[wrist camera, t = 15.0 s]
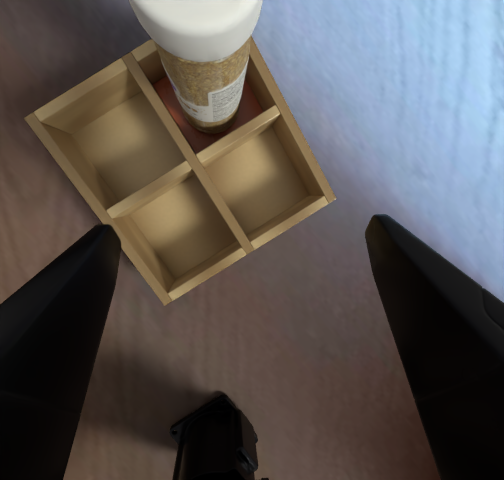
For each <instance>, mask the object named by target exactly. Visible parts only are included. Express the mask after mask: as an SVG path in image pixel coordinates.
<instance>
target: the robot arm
mask: <svg viewBox="0 0 504 480" xmlns="http://www.w3.org/2000/svg"><path fill="white" fill-rule="evenodd" d="M365 238H366V243H367V248H368V253H369V258H370V263H371V268H372V272H373V276H374V279H375V282H376V285H377V288H378V292H379V295H380V298H381V301H382V304H383V307H384V310H385V313H386V316H387V319H388V322H389V325H390V328H391V331H392V334H393V337H394V340H395V343H396V346H397V349H398V352H399V355H400V358H401V361H402V364H403V367H404V370H405V373H406V376H407V379H408V382H409V385H410V388H411V391H412V394H413V397H414V399H415V403H416V406H417V409H418V412H419V415H420V418H421V421H422V424H423V427H424V430H425V433H426V436H427V439H428V442H429V445H430V448H431V451H432V454H433V457H434V460H435V463H436V467H437V470H438V473H439V476H440V478H441V480H504V303H503V302H502V301H501V300H499V299H498V298H496V297H495V296H494V295H492V294H491V293H490V292H489V291H487V290H486V289H484V288H482V286H481V285H479V284H478V283H477V282H475V281H474V280H473V279H471V278H470V277H469V276H467V275H466V274H465V273H463V272H462V271H461V270H459V269H458V268H457V267H456V266H454V265H453V264H452V263H450V262H449V261H448V260H446V259H445V258H444V257H442V256H441V255H440V254H438V253H437V252H436V251H434V250H433V249H432V248H430V247H429V246H428V245H427V244H425V243H424V242H423V241H421V240H420V239H419V238H417V237H416V236H415V235H413V234H412V233H411V232H409V231H408V230H407V229H405V228H404V227H403V226H402V225H400V224H399V223H398V222H396V221H395V220H394V219H392V218H391V217H390V216H388V215H386V214H376V215H374V216H372V218H371V220H370V222H369V224H368V227H367V229H366V231H365ZM120 252H121V240H120V238H119V236H118V235H117V233H116V231H115V230H114V228H113V227H112V226H111V225H110V224H98V225H96V226H94V227H93V228H92V229H91V230H90V231H88V232H87V233H86V234H85V235H84V236H82V237H81V238H80V239H79V240H78V241H76V242H75V243H74V244H73V245H72V246H70V247H69V248H68V249H67V250H65V251H64V252H63V253H62V254H61V255H59V256H58V257H57V258H56V259H55V260H53V261H52V262H51V263H50V264H49V265H47V266H46V267H45V268H44V269H43V270H41V271H40V272H39V273H38V274H36V275H35V276H34V277H33V278H32V279H30V280H29V281H28V282H27V283H26V284H24V285H23V286H22V287H21V288H20V289H18V290H17V291H16V292H15V293H14V294H12V295H11V296H10V297H9V298H7V299H6V300H5V301H4V302H3V303H1V304H0V480H63V477H64V474H65V470H66V466H67V463H68V459H69V455H70V452H71V448H72V444H73V441H74V437H75V433H76V430H77V426H78V422H79V419H80V413H81V411H82V407H83V403H84V400H85V396H86V392H87V388H88V385H89V381H90V377H91V374H92V370H93V366H94V363H95V359H96V355H97V352H98V348H99V344H100V341H101V337H102V333H103V330H104V326H105V322H106V319H107V315H108V311H109V307H110V304H111V300H112V296H113V293H114V289H115V285H116V279H117V273H118V266H119V259H120ZM222 400H225V401H222ZM174 430H176V431H174ZM170 435H171V436H172V438H173V439H174V440H175V441H176V442H177V444H178V445H179V446H178V451H177V457H176V462H175V468H174V474H173V479H172V480H255V477H254V471H256V470H257V469H258V460H257V452H256V445H255V444H256V443H257V441H258V439H257V435H256V433H255V432H254V429H253V426H252V424H251V423H250V422H249V420H248V419H247V418H246V416H245V415H244V414H243V413H242V411H241V410H239V409H237V408H236V407H235V405H234V404H233V403H232V401H231V400H230V399H229V397H228V396H227V395H220V396H219V397H217V398H215V399H214V400H212V401H211V402H209V403H207V404H206V405H204V406H203V407H201V408H199V409H198V410H196V411H195V412H193V413H191V414H190V415H188V416H187V417H185V418H183V419H182V420H180V421H179V422H177V423H175V424H174V425H172V426H171V428H170ZM261 480H269V479H268V478H261Z"/></svg>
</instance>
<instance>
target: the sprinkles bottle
mask: <svg viewBox="0 0 504 480" xmlns="http://www.w3.org/2000/svg"><path fill="white" fill-rule="evenodd" d="M129 2H130V5H131V6H132V8H133V10H134V12H135V14H136V16H137V18H138V20H139V22H140V24H141V25H142V26H143V28H144V29H145V31H146V32H147V33H148V35H149V36H150V37H151V38H152V39H153V41H154V43H155V46H156V48H157V50H158V53H159V55H160V57H161V61H162V64H163V66H164V69H165V71H166V73H167V75H168V78H169V80H170V82H171V85H172V87H173V89H174V92H175V94H176V96H177V98H178V101H179V102H180V104H181V108H182V111H183V114H184V116H185V118H186V119H187V121H188V122H189V123H190V124H191V125H192V126H193V127H194V128H196V129H197V130H199V131H201V132H204V133H209V134H210V133H213V134H215V133H220V132H223V131H225V130H227V129H228V128H229V127H231V126H232V124H233V123H234V122H235V120H236V118H237V116H238V113H239V107H240V99H241V95H242V90H243V84H244V79H245V74H246V69H247V64H248V58H249V51H250V40H251V35H252V32H253V30H254V28H255V26H256V23H257V21H258V18H259V15H260V11H261V7H262V2H263V0H129Z"/></svg>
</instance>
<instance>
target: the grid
mask: <svg viewBox="0 0 504 480" xmlns="http://www.w3.org/2000/svg"><path fill="white" fill-rule="evenodd" d="M24 119H25V120H26V122H27V123H28V124H29V126H30V127H31V128H32V130H33V131H34V132H35V134H36V135H37V136H38V138H39V139H40V140H41V142H42V143H43V144H44V146H45V147H46V148H47V150H48V151H49V152H50V154H51V155H52V156H53V158H54V159H55V160H56V162H57V163H58V164H59V166H60V167H61V168H62V170H63V171H64V172H65V174H66V175H67V176H68V178H69V179H70V180H71V182H72V183H73V184H74V186H75V187H76V188H77V190H78V191H79V192H80V194H81V195H82V196H83V198H84V199H85V200H86V202H87V203H88V204H89V206H90V207H91V208H92V210H93V211H94V212H95V214H96V215H97V216H98V218H99V219H100V220H101V222H102V223H103V224H110V225H111V226H112V227H113V228H114V230H115V231H116V233H117V235H118V236H119V238H120V240H121V248H122V250H123V251H124V252H125V254H126V255H127V256H128V258H129V259H130V260H131V262H132V263H133V264H134V266H135V267H136V268H137V270H138V271H139V272H140V274H141V275H142V276H143V278H144V279H145V280H146V282H147V283H148V284H149V286H150V287H151V288H152V290H153V291H154V292H155V294H156V295H157V296H158V298H159V299H160V300H161V302H162V303H163V304H164V305H167V304H168V303H170V302H172V300H175V299H176V298H178V297H180V296H181V295H183V294H184V293H186V292H188V291H189V290H191V289H192V288H194V287H196V286H197V285H199V284H200V283H202V282H204V281H205V280H207V279H208V278H210V277H212V276H213V275H215V274H216V273H218V272H220V271H221V270H223V269H224V268H226V267H228V266H229V265H231V264H232V263H234V262H236V261H237V260H239V259H240V258H242V257H244V256H245V255H246V254H249V253H250V252H252V251H253V250H254V249H257V248H258V247H260V246H261V245H263V244H265V243H266V242H268V241H269V240H271V239H273V238H274V237H276V236H277V235H279V234H281V233H282V232H284V231H286V230H287V229H289V228H290V227H292V226H294V225H295V224H297V223H298V222H300V221H302V220H303V219H305V218H306V217H308V216H310V215H311V214H313V213H314V212H316V211H318V210H319V209H321V208H322V207H324V206H326V205H327V204H328V203H330V202H332V201H334V200H335V199H336V197H335V195H334V193H333V191H332V189H331V187H330V185H329V183H328V182H327V180H326V178H325V176H324V174H323V172H322V170H321V168H320V166H319V164H318V162H317V161H316V159H315V157H314V155H313V153H312V151H311V149H310V147H309V145H308V143H307V141H306V139H305V138H304V136H303V134H302V132H301V130H300V128H299V126H298V124H297V122H296V120H295V118H294V117H293V115H292V113H291V111H290V109H289V107H288V105H287V103H286V101H285V99H284V97H283V96H282V94H281V92H280V90H279V88H278V86H277V84H276V82H275V80H274V78H273V76H272V75H271V73H270V71H269V69H268V67H267V65H266V63H265V61H264V59H263V57H262V55H261V54H260V52H259V50H258V48H257V46H256V44H255V42H254V40H253V38H252V36H251V40H250V51H249V58H248V64H247V69H246V74H245V79H244V84H243V90H242V95H241V99H240V107H239V113H238V116H237V118H236V120H235V122H234V123H233V124H232V126H231V127H229V128H228V129H227V130H225V131H223V132H220V133H215V134H213V133H210V134H209V133H204V132H201V131H199V130H197V129H196V128H194V127H193V126H192V125H191V124H190V123H189V122H188V121H187V119H186V118H185V116H184V114H183V111H182V108H181V104H180V102H179V101H178V98H177V96H176V94H175V92H174V89H173V87H172V85H171V82H170V80H169V78H168V75H167V73H166V71H165V69H164V66H163V64H162V61H161V57H160V55H159V53H158V50H157V48H156V46H155V43H154V41H153V39H150V40H149V41H147V42H145V43H144V44H142V45H141V46H139V47H137V48H136V49H134V50H133V51H131V52H129V53H128V54H126V55H125V56H123V57H122V58H120V59H118V60H117V61H115V62H113V63H112V64H110V65H109V66H107V67H105V68H104V69H102V70H101V71H99V72H97V73H96V74H94V75H92V76H91V77H89V78H88V79H86V80H84V81H83V82H81V83H80V84H78V85H76V86H75V87H73V88H71V89H70V90H68V91H67V92H65V93H63V94H62V95H60V96H59V97H57V98H55V99H54V100H52V101H51V102H49V103H47V104H46V105H44V106H42V107H41V108H39V109H38V110H36V111H34V113H31V114H29V115H28V116H26V117H25V118H24Z"/></svg>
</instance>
